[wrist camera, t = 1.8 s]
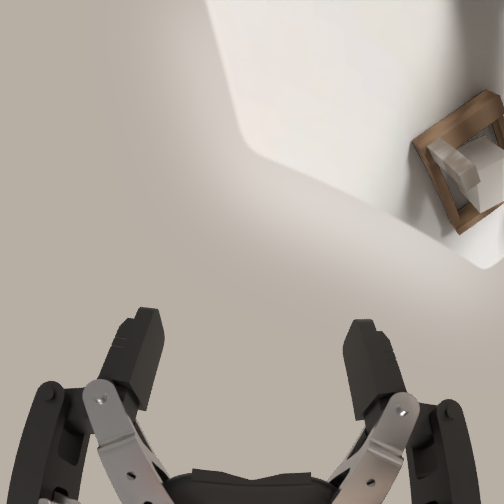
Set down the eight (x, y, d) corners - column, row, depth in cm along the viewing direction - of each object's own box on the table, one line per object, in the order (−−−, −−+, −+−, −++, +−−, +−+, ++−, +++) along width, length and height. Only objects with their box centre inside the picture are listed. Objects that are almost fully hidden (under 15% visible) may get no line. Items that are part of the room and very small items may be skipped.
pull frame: (485, 89, 20) (539, 115, 13) (512, 177, 27) (551, 216, 19) (411, 140, 27) (454, 180, 19) (450, 223, 33) (481, 271, 26)
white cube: (449, 150, 27) (475, 172, 22) (482, 135, 25) (510, 154, 20) (458, 188, 30) (480, 213, 25) (488, 173, 28) (512, 196, 23)
